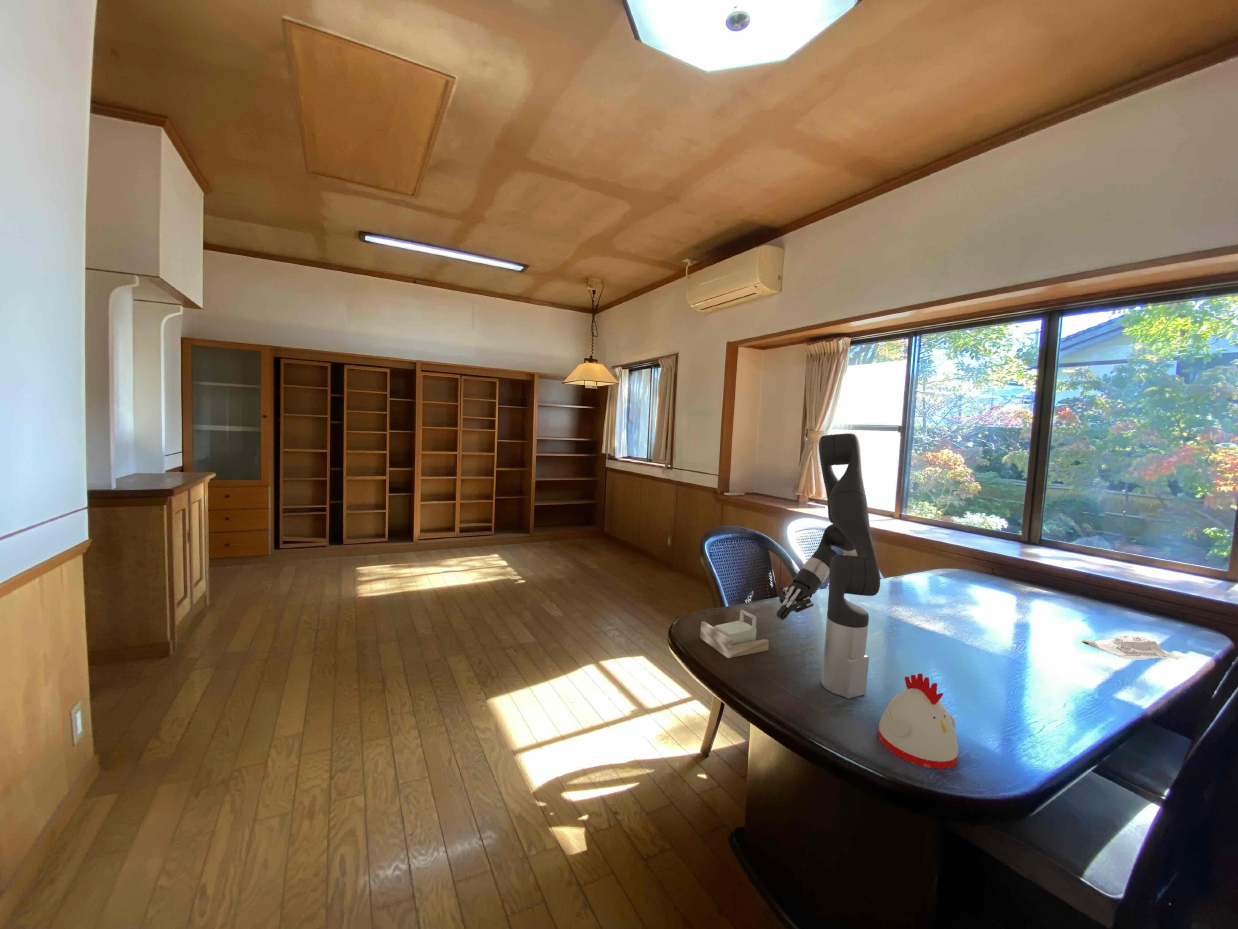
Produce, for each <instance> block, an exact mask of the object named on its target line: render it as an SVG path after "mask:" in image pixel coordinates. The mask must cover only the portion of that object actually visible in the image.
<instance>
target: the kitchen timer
mask: <svg viewBox="0 0 1238 929" xmlns="http://www.w3.org/2000/svg"><path fill="white" fill-rule="evenodd" d="M904 682H905V687H906V689H904V690H902V691H900V692H898V693H897V694H896V695H894V696H893V697H892V698H891V700H890V701H889V702H888V704H887V706H886V708H885V709H884V711H883V712H882V715H881V717H880V720H879V722H878V723H879V724H878V733H877V734H878V735H877V736H879V737H878V739H879V740H881V741H880V743H881V742H882V743H881V744H882V746H884V747H885V748H886V749H887V748H888V749H887V750H888V751H889V750H890V751H889V752H890V753H892V752H893V753H892V754H893V755H895V754H896V755H897V756H896V755H895V756H896V757H898V756H899V758H900V757H901V758H900V759H902V758H903V759H902V760H904V759H905V760H904V761H906V760H907V761H906V762H908V761H910V762H913V763H915V764H914V765H916V764H918V765H921V766H920V767H922V766H924V767H923V768H926V767H931V768H939V769H938V770H942V769H943V770H945V769H944V768H948V767H952V768H954V767H955V766H956V765H957V763H958V759H959V744H958V739H957V735H956V731H955V727H956V722H955V719H954V717H953V716H952V715H951V714H950V713H949V712H948V711H947V709H946V707H945V706H944V705H943V703H942V702H941V701H940V700H941V698H943V696H944V693H943V692H939V693H937V691H938V683H937V682H934V683H932V684H931V683H930V678H929V677H928V676H925V677H924V676H923V673H918V674H917V676H916V674H911V675H910V677H909V676H904ZM930 684H931V685H930ZM910 762H909V763H910ZM913 763H912V764H913ZM955 764H956V765H955ZM918 765H917V766H918ZM954 765H955V766H954Z"/></svg>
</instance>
